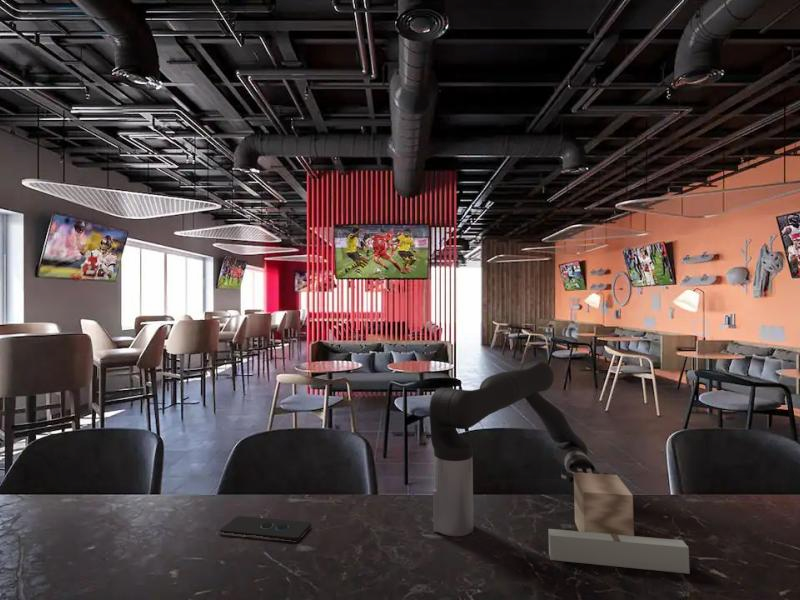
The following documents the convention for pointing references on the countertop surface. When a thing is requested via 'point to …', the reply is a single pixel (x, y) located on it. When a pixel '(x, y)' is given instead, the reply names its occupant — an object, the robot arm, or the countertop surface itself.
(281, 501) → the countertop surface
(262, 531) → the smart home device
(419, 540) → the countertop surface
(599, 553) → the sage board
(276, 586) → the countertop surface
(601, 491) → the birch block
